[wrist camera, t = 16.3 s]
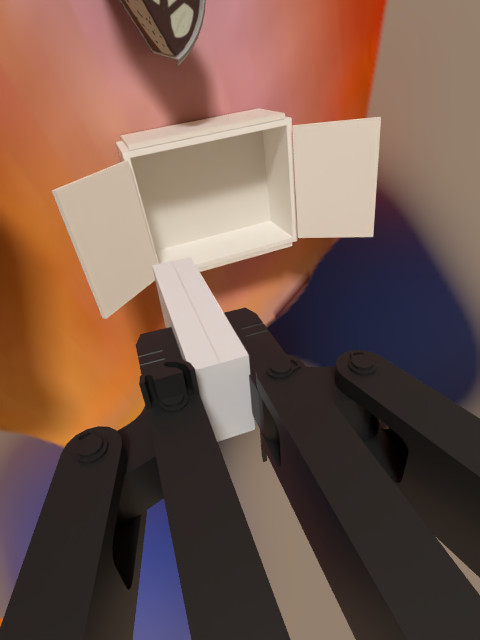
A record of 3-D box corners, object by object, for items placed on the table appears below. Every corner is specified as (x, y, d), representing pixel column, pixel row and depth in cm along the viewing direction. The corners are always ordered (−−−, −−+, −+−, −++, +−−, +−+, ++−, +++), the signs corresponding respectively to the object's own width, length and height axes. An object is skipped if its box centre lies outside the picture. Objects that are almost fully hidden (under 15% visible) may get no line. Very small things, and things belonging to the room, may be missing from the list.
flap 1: (55, 190, 32) (51, 190, 32) (106, 318, 39) (102, 317, 39) (128, 160, 38) (124, 161, 38) (160, 276, 45) (156, 275, 45)
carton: (149, 259, 52) (159, 283, 46) (113, 136, 44) (120, 146, 37) (273, 226, 56) (297, 244, 50) (263, 107, 47) (291, 111, 41)
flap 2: (373, 236, 46) (373, 234, 46) (381, 117, 39) (380, 116, 39) (297, 237, 48) (298, 236, 49) (292, 126, 41) (293, 125, 42)
